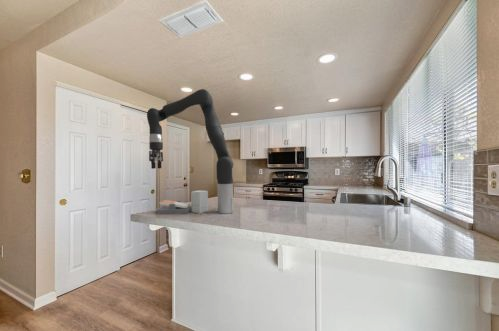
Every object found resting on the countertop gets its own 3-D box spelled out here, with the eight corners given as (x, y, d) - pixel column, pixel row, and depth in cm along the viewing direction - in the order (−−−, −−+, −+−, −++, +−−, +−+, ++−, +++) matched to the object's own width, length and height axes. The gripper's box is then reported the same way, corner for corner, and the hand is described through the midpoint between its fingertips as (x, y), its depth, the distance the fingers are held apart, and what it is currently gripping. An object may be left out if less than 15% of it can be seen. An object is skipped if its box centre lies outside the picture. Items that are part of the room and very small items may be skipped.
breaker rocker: (189, 205, 137) (190, 203, 137) (186, 208, 129) (186, 205, 129) (164, 201, 137) (165, 199, 137) (159, 204, 129) (159, 201, 129)
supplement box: (208, 211, 134) (208, 190, 134) (199, 213, 127) (199, 192, 127) (199, 210, 138) (199, 190, 138) (190, 212, 131) (190, 191, 131)
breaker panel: (192, 209, 139) (192, 200, 139) (187, 213, 127) (186, 204, 127) (164, 209, 139) (164, 200, 139) (156, 214, 127) (156, 204, 127)
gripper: (157, 140, 125) (157, 168, 125) (166, 143, 140) (167, 168, 140) (144, 140, 125) (144, 168, 125) (155, 143, 140) (155, 168, 140)
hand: (156, 168), depth 133 cm, fingers open, 8 cm apart
